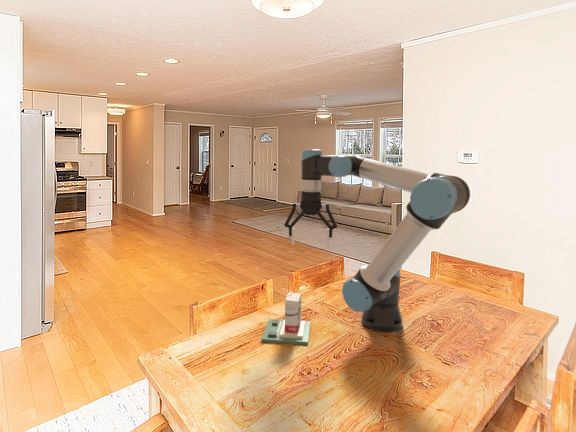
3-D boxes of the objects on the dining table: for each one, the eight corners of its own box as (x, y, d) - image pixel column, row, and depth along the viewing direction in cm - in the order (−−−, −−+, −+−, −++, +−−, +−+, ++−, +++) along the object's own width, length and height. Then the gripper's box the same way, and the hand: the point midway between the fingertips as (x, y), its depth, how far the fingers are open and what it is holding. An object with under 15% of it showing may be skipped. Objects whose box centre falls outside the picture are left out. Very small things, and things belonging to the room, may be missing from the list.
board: (310, 323, 145) (310, 318, 145) (307, 344, 129) (307, 339, 129) (268, 321, 147) (268, 316, 146) (261, 341, 131) (261, 336, 131)
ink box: (298, 333, 133) (298, 301, 131) (284, 332, 134) (284, 300, 132) (301, 322, 141) (301, 292, 139) (288, 321, 142) (288, 291, 140)
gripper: (344, 190, 147) (342, 243, 150) (280, 189, 149) (279, 241, 153) (344, 192, 139) (342, 248, 143) (277, 191, 142) (277, 246, 146)
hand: (310, 245), depth 148 cm, fingers open, 13 cm apart
